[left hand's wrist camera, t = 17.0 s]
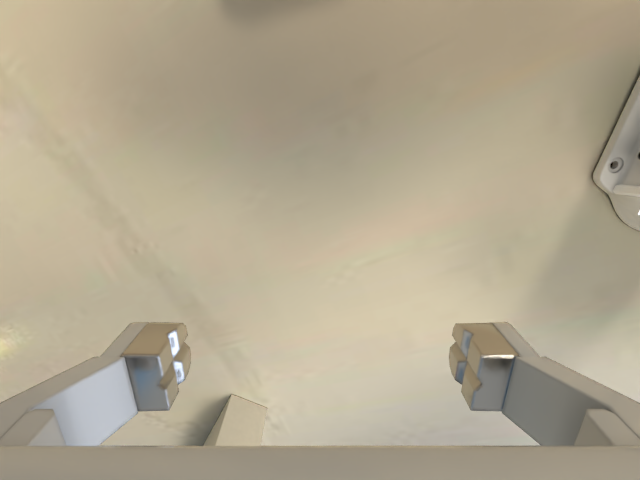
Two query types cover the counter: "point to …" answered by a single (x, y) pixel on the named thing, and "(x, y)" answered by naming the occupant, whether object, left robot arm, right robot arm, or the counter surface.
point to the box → (238, 424)
